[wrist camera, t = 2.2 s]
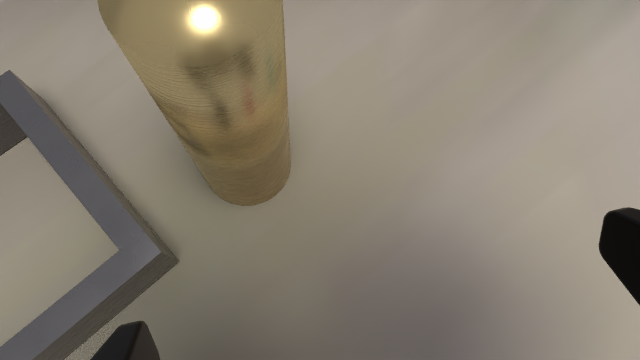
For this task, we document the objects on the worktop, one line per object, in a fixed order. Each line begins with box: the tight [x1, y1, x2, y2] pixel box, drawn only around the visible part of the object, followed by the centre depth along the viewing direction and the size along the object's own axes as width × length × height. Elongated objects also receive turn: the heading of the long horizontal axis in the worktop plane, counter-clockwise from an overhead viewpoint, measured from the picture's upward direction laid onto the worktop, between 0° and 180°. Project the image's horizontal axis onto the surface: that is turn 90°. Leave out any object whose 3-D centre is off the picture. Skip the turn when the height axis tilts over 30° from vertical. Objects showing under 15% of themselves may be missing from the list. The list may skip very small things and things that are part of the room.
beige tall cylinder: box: [98, 0, 291, 205], centre depth 17 cm, size 4×4×13 cm
